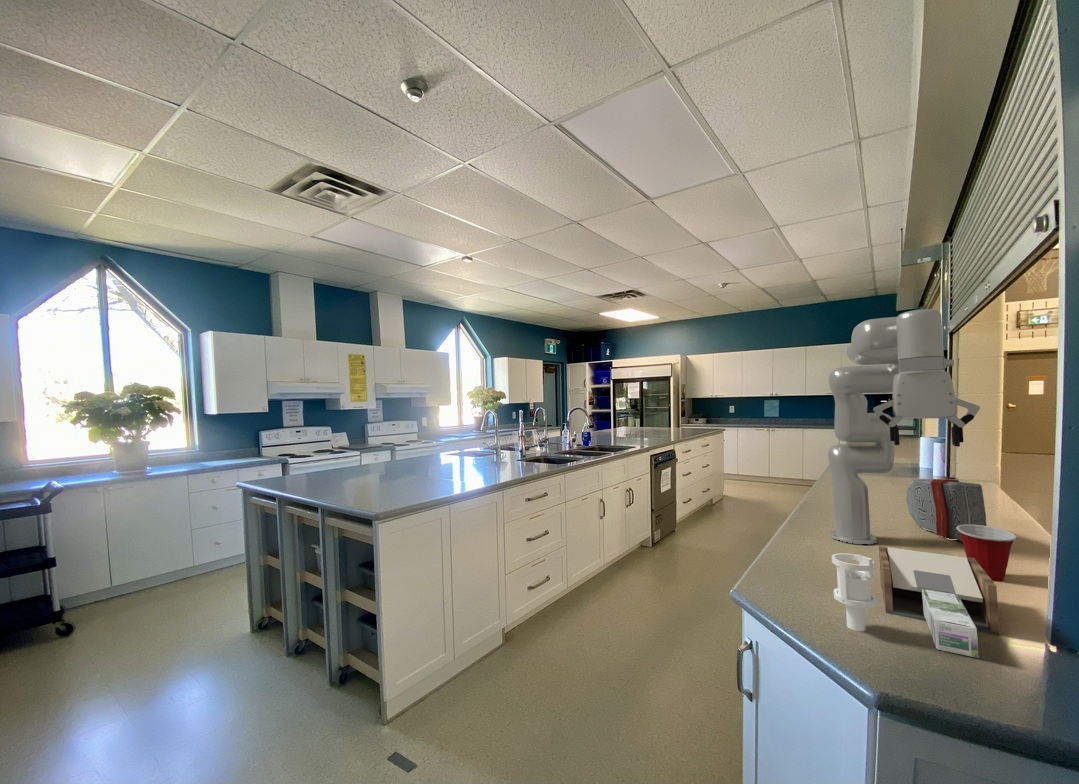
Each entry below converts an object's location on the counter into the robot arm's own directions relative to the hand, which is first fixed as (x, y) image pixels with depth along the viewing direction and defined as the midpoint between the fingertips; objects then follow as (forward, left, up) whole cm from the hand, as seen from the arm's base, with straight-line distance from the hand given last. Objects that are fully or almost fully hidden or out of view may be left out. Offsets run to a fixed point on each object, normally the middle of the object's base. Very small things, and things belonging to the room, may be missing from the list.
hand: (925, 445), depth 93 cm
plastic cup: (-33, +14, -36) cm, 51 cm away
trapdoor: (-5, 0, -29) cm, 30 cm away
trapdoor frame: (-5, 0, -36) cm, 37 cm away
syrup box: (+2, 0, -33) cm, 33 cm away
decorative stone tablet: (-73, +11, -36) cm, 82 cm away
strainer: (+15, -14, -36) cm, 42 cm away
